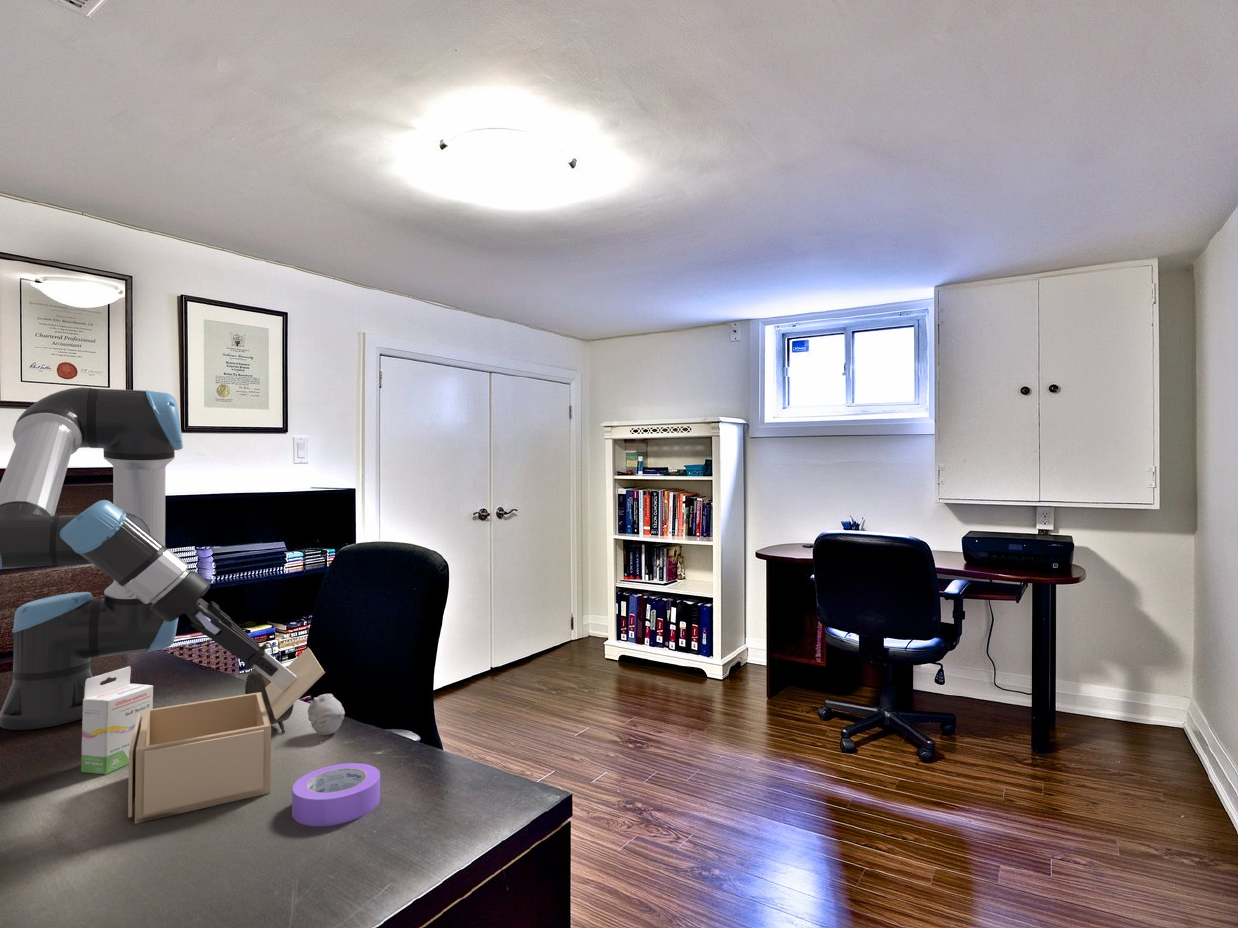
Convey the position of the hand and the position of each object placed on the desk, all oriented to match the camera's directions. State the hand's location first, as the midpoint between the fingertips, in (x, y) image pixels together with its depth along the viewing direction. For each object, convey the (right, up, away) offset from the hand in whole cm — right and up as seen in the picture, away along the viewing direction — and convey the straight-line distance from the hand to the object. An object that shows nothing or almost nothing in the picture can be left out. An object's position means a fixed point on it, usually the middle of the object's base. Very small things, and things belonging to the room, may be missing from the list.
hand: (289, 683), depth 108 cm
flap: (-3, -3, -1) cm, 5 cm away
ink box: (-29, -14, +2) cm, 32 cm away
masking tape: (+13, -14, -12) cm, 22 cm away
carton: (-10, -14, -5) cm, 18 cm away
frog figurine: (0, -14, +14) cm, 20 cm away
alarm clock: (-12, -14, +16) cm, 25 cm away
